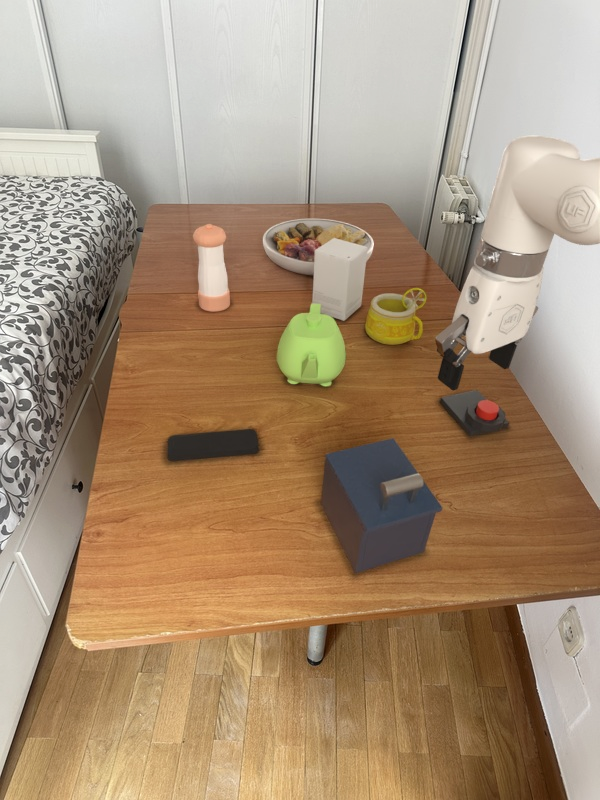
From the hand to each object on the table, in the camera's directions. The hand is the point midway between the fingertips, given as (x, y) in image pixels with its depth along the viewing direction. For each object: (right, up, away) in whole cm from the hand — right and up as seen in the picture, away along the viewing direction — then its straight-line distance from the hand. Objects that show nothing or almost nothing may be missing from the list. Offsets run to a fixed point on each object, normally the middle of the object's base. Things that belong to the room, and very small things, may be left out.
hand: (473, 373), depth 73 cm
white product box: (-15, +18, +54) cm, 59 cm away
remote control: (-38, -12, +17) cm, 43 cm away
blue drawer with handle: (-13, -15, -1) cm, 20 cm away
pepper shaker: (-44, +19, +54) cm, 72 cm away
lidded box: (-13, -22, +5) cm, 26 cm away
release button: (+9, -6, +22) cm, 24 cm away
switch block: (+8, -6, +26) cm, 28 cm away
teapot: (-22, +2, +34) cm, 40 cm away
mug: (-3, +10, +45) cm, 47 cm away
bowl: (-19, +36, +76) cm, 86 cm away
